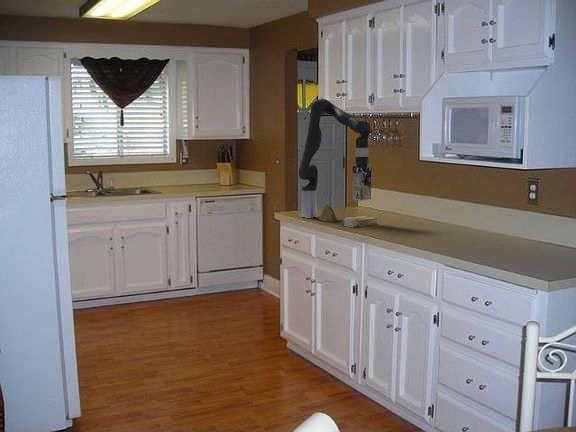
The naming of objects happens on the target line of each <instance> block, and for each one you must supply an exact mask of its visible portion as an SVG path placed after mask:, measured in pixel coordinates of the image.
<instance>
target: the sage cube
mask: <svg viewBox="0 0 576 432" xmlns="http://www.w3.org/2000/svg"><path fill="white" fill-rule="evenodd" d="M343 222H344V225H343V226H346V227H345V228H351V227H352V228H355V227H354V226H356V227H358V226H357V218H352V217H350V216H349V217H345V218H344V221H343Z"/></svg>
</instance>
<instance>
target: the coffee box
mask: <svg viewBox="0 0 576 432" xmlns="http://www.w3.org/2000/svg"><path fill="white" fill-rule="evenodd" d="M364 173H367V172H364ZM364 173H363V172H353V171H352V200H354V201H366V200H371V199H372V176H371V177H370V178H368V185H364V179H365V178H364ZM366 176H367V175H366Z"/></svg>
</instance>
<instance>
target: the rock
mask: <svg viewBox="0 0 576 432" xmlns="http://www.w3.org/2000/svg"><path fill="white" fill-rule="evenodd" d="M319 220H324V221H323V222H337V217H336V213H335V211H334V210H333V208H332V207H331V205H329V204H325V206H324V207H323V209H322V211H321V214H320V215H319V219H318V221H319Z"/></svg>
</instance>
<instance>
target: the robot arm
mask: <svg viewBox="0 0 576 432" xmlns="http://www.w3.org/2000/svg"><path fill="white" fill-rule="evenodd" d="M322 115H323V116H324V115H328V116H332V117H333V118H335V119H336V121H337V122H338V123H340V124H341V125H343V126H346V127H347V128H349V129H350V130H351V131H353V132H355V133H357V134H359V135H358V137H357V138H356V140H355V159H354V160H355V161H354V162H355V165H352V173H353V172H363V173H364V172H367V173H364V178H365V179H364V185H368V178H370V177H371V178H372V171H373V169H372V166H368V165H369V138H370V134H371V124H370V122H369V121H367V120H358V119H357V117H356V116H354V115H352V114H351V113H349V112H346V111H344V110H342V109H341V108H340V107H338V106H336V105H335V104H333V103H332V102H331V101H330V100H328V99H326V98H320V99H314V100H313V101H312V102H311V105H310V111H309V121H308V122H309V123H308V128H307V134H306V138H305V144H304V149H303V154H302V157H301V161H300V165H299V168H298V176H299V178H300V179H301V180H303V181H306V180H307V181H306V183H305V184H303V185H302V186H301V203H300V210H301V211H300V214H301V215H300V216H302V217H305V218H304V219H314V218H313V217H316V218H317V217H318V215H317V214H318V206H317V203H318V201H317V196H318V195H317V194H318V193H317V188H318V177H319V176H318V175H319V174H318V173H319V171H318V168H317V166H316V165H315V164H311V161H312V158H313V157H314V156H315V154H317V152H318V151H319V149H320V147H321V144H322V139H323V135H322V130H321V126H320V121H321V117H322ZM366 175H367V176H366ZM302 217H301V218H302Z"/></svg>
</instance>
